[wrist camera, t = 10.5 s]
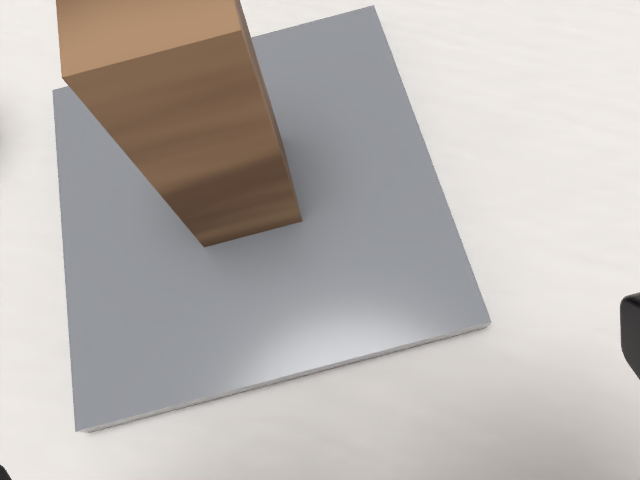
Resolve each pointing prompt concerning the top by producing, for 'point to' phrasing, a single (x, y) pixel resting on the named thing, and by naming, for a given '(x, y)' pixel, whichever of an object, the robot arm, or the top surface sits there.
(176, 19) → the brown wooden block
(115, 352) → the slate plate
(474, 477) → the top surface
